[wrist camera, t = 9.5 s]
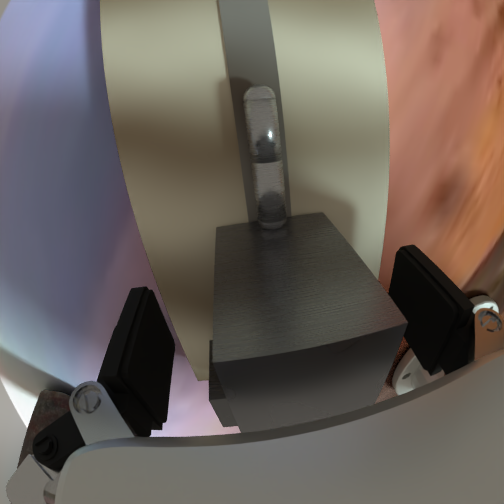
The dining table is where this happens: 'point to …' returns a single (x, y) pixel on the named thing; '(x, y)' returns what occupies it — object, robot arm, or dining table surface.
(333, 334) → the dark grey block
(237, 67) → the rail board
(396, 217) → the dining table surface
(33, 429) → the candle
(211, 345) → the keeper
